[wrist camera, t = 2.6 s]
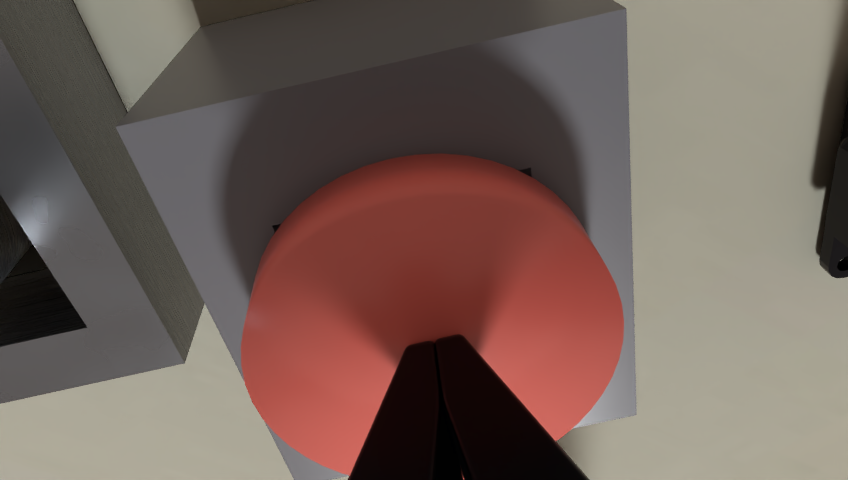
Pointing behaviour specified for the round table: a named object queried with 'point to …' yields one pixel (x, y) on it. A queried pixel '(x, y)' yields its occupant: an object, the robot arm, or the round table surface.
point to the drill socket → (79, 219)
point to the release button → (425, 298)
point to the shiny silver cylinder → (10, 240)
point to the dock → (385, 130)
